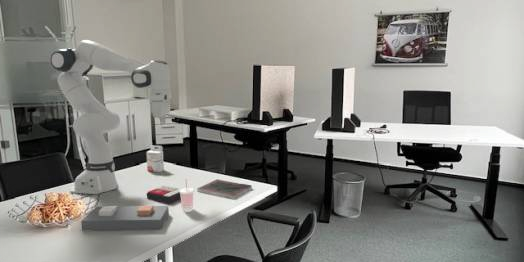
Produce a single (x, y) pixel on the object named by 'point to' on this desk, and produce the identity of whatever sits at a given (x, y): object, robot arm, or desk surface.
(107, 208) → the key white
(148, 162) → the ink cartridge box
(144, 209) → the key terracotta
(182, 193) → the beverage cup
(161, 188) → the calculator
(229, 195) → the picture frame
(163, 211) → the console
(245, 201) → the desk surface
